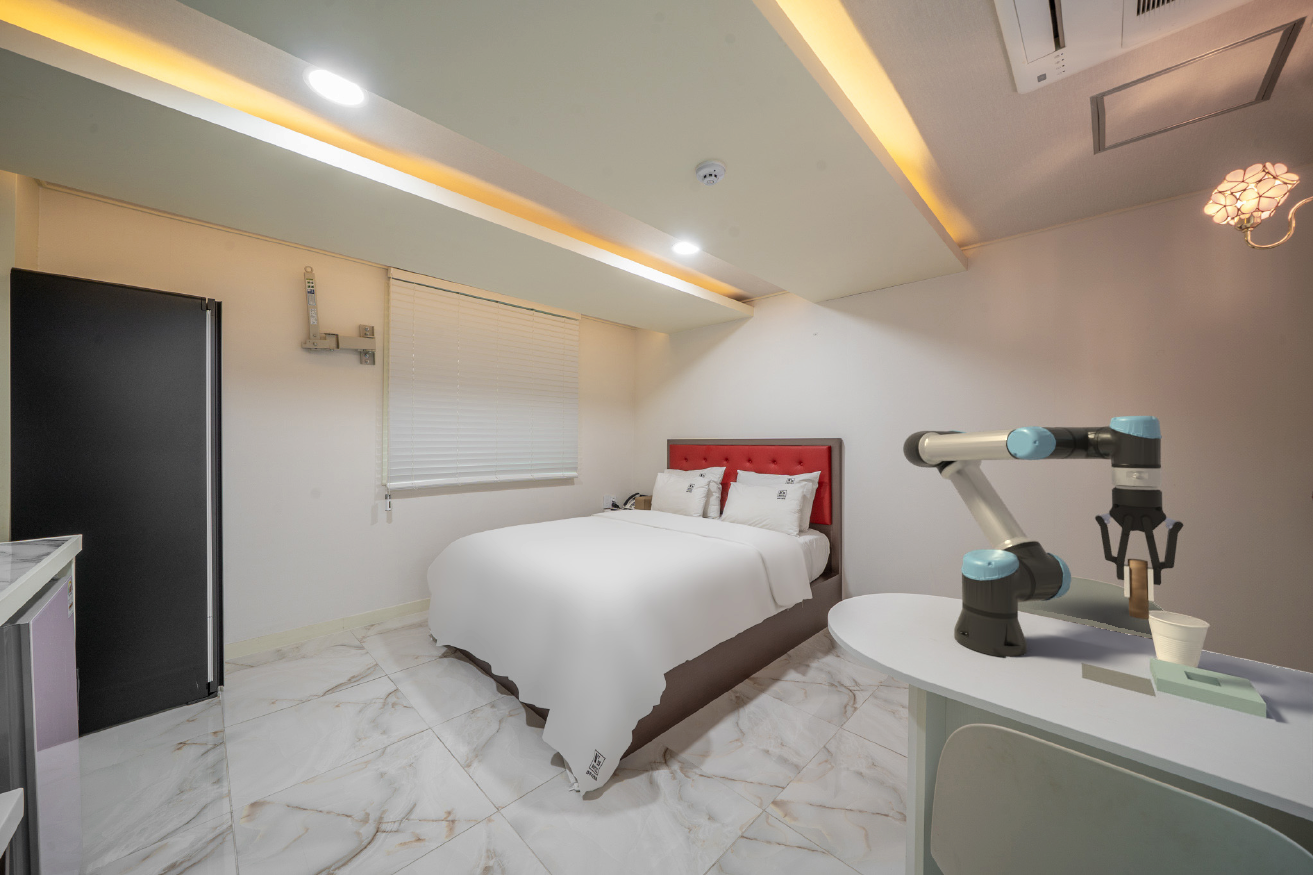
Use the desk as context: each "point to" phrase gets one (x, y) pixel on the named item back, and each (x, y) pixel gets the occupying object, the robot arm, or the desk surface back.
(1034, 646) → the desk surface
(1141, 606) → the peg
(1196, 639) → the cup
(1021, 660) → the desk surface
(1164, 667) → the socket block
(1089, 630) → the desk surface
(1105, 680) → the mat
